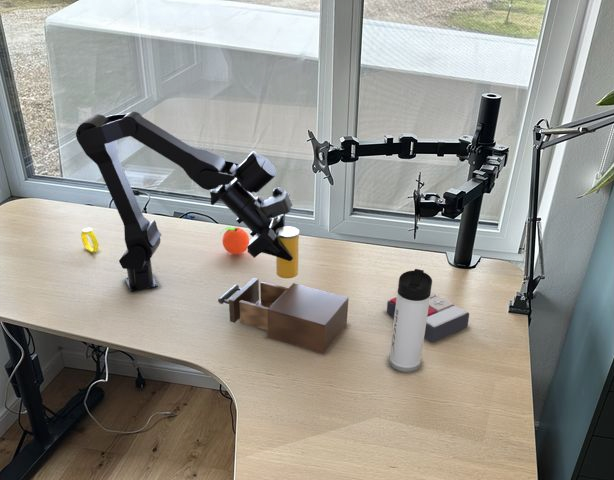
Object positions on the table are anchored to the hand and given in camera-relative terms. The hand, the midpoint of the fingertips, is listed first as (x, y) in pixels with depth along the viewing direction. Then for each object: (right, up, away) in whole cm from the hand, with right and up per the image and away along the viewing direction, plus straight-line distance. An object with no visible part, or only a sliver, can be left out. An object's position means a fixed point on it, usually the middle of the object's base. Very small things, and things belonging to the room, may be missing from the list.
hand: (293, 254), depth 148 cm
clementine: (-16, +4, +24) cm, 29 cm away
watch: (-53, +4, +23) cm, 58 cm away
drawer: (-8, -14, -2) cm, 16 cm away
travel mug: (+23, -24, -14) cm, 36 cm away
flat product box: (+30, -15, -1) cm, 33 cm away
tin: (-1, -4, +3) cm, 5 cm away
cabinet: (+3, -18, -6) cm, 19 cm away
